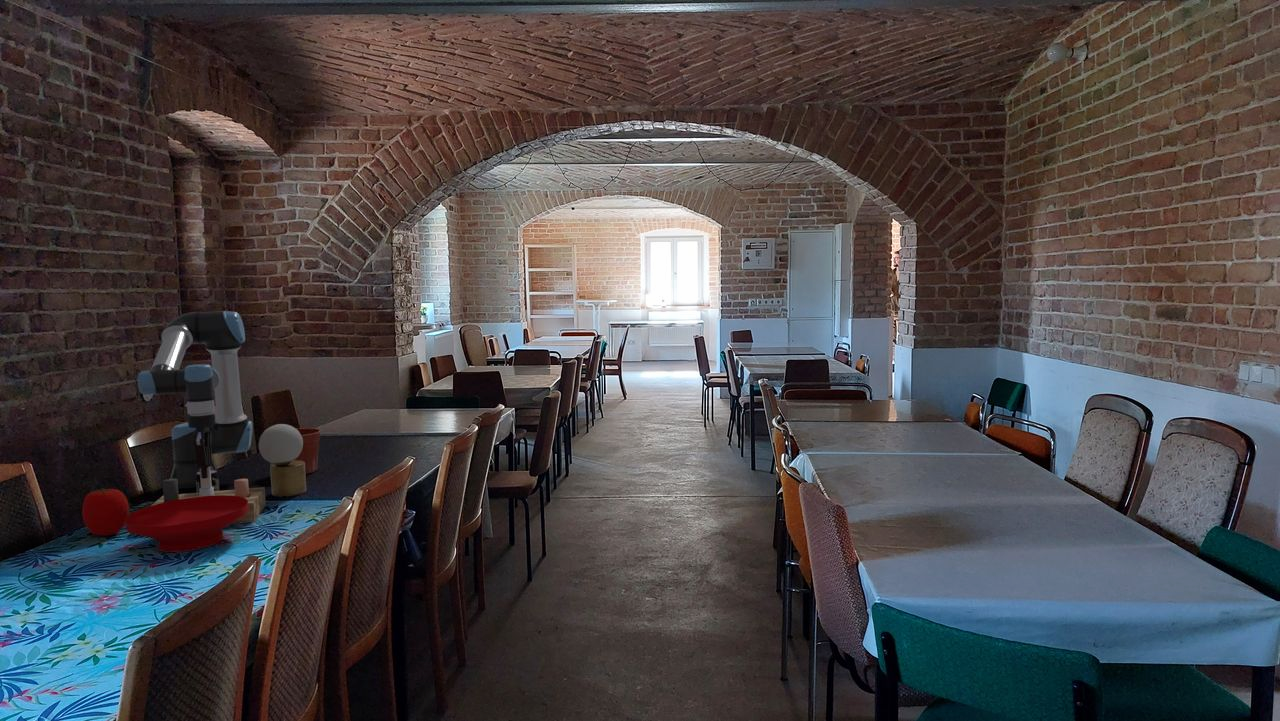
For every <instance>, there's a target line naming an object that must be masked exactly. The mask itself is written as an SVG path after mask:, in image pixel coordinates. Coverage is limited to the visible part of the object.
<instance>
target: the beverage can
mask: <svg viewBox="0 0 1280 721" xmlns="http://www.w3.org/2000/svg"><path fill="white" fill-rule="evenodd" d="M219 479H220V477H219V474H218V472H217V470H215V469H213V470H211V483H212V487H214V491H220V480H219ZM195 488H196V493H200V492H199V489H200V488H201V480H200V472H197V476H196V487H195Z"/></svg>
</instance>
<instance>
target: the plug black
mask: <svg viewBox="0 0 1280 721" xmlns="http://www.w3.org/2000/svg"><path fill="white" fill-rule="evenodd" d="M162 492H163V493H162V494H163V495H162V496H164V502H169V501H174V500H179V488H178V480H177V479H170V478H168V479H163V480H162Z"/></svg>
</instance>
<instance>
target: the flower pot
mask: <svg viewBox="0 0 1280 721" xmlns="http://www.w3.org/2000/svg"><path fill="white" fill-rule="evenodd" d="M296 429H297V430H298V431H299V433H300V434H301V436H302V439H303V448H302V451H301V453H300V454H299V456H298V457H297V458H296V459H294V460H299V461H304V462H305V475H307V474H312V473H315V472H316V471H318V466H319V465H318V464H319V463H318V461H319V441H320V436H321V435H320V434H321V433H322V429H320V428H313V427H311V428H310V427H303V428H301V427H299V428H296Z"/></svg>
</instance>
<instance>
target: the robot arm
mask: <svg viewBox="0 0 1280 721" xmlns="http://www.w3.org/2000/svg"><path fill="white" fill-rule="evenodd" d="M243 322H244V321H243V319H242V316H241V315H240V314H239V313H238V312H236V311H228V310H227V311H226V310H217V311H215V310H214V311H191V312H187V313H185V314H182V315H179V316H177V317H176V318H174V319H172V320H171V321H169V323H168V324H167V325H166V326H165V327H164V329H163V331H162V333H161V341H162V342H161V343H160V346H159V349H158V352H157V354H156V357H155V359H154V361H153V364H152V366H151V368H150V370H149V369H148V370H144V371H143V370H142V371H140V372H139V373H138V375H137V376H138V377H137V388H138V390H139V393H141V394H143V395H154V396H155V395H166V394H182V393H185V396H186V404H184V406H185V407H186V410H187V411H186V412H187V414H188V416H187V422H183V423H180V424H177V425H175V426H173V427H172V429H171V442H172V444H171V445H172V457H173V459H172V460H173V467H172V471H171V475H170V478H169V479H177V480H178V489H193V488H196V476H197V472H200V480H201V488H211V487H212V483H211V470H214V468H213V466H214V463H213V460H212V459H213V458H212V457H213V455H223V454H224V455H226V454H238V453H245V452H248V451H249V450H250V448H251V444H252V438H253V421H251V420H248V416H247V415H246V414H245V413H244V412H243V404H242V393H241V384H240V383H241V382H240V370H239V369H240V368H239V358H238V351H239V350H241V348H242V344H243V343H245V341H246V334H245V333H246V331H245V326H244V323H243ZM191 345H205V346H204V347H205V350H206V351H207V352H209V353H210V358H211V365H210V364H206V363H203V364H200V363H199V364H191V365H190V364H189V365H187V366H185V367H184V369H180V368H181V365H182V362H183V359H184V356H185V354H186V352H187V349H188V348H190V347H191ZM215 412H216V414H215Z"/></svg>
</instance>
